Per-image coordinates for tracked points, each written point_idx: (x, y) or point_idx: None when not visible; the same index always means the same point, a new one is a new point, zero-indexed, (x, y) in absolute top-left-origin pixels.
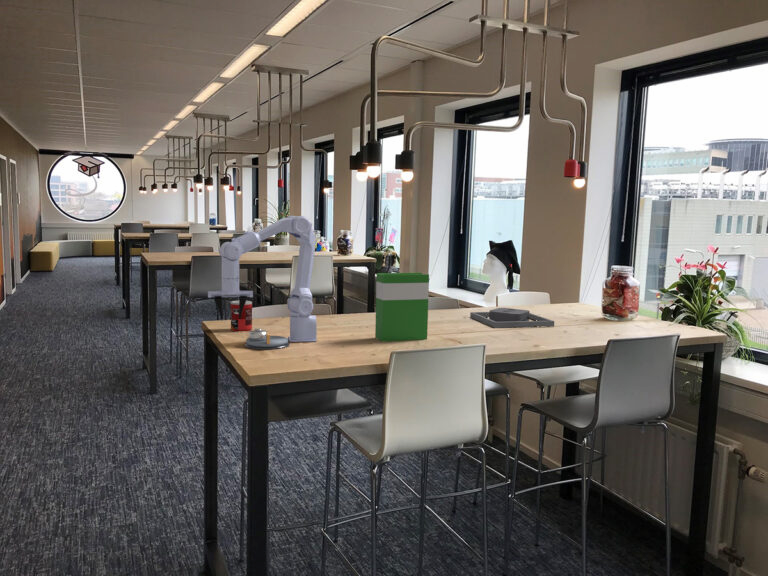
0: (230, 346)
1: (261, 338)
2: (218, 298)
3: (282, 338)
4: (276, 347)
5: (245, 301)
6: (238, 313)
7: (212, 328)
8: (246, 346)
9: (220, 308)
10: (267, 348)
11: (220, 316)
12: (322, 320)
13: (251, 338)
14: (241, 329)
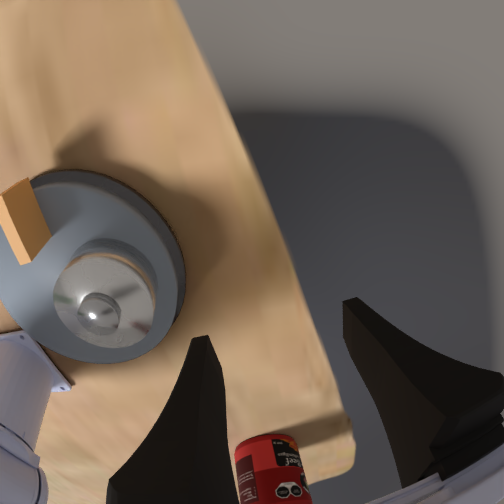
0: (250, 227)
1: (74, 253)
2: (467, 438)
3: (26, 315)
4: None
5: (116, 474)
6: (280, 484)
7: (346, 439)
8: (158, 214)
9: (405, 352)
10: (40, 177)
11: (369, 307)
12: None
13: (129, 252)
14: (261, 441)
